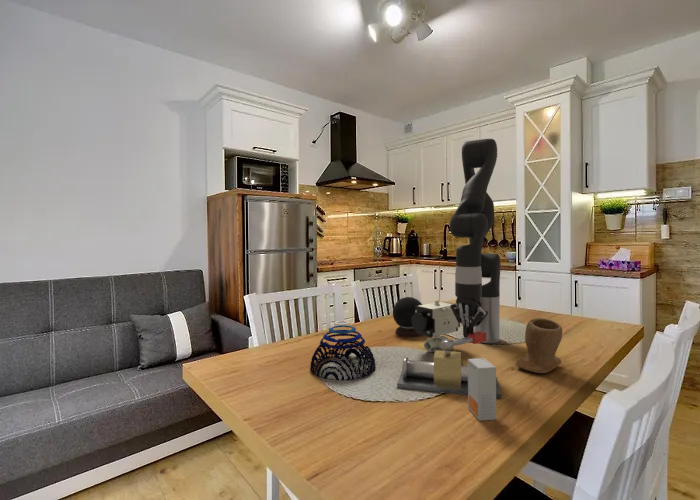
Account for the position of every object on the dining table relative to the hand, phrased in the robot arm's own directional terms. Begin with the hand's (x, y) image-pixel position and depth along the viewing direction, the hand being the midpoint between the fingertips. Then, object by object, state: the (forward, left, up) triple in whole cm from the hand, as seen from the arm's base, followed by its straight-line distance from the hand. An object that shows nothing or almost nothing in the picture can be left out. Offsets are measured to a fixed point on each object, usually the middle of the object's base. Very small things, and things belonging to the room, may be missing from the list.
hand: (468, 338), depth 109 cm
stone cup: (-8, +21, -10) cm, 25 cm away
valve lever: (+7, -1, 0) cm, 7 cm away
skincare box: (+26, +2, -10) cm, 28 cm away
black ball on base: (-37, -23, -10) cm, 44 cm away
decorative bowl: (+7, -37, -10) cm, 39 cm away
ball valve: (-17, -10, -10) cm, 22 cm away
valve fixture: (+11, -6, -10) cm, 16 cm away
